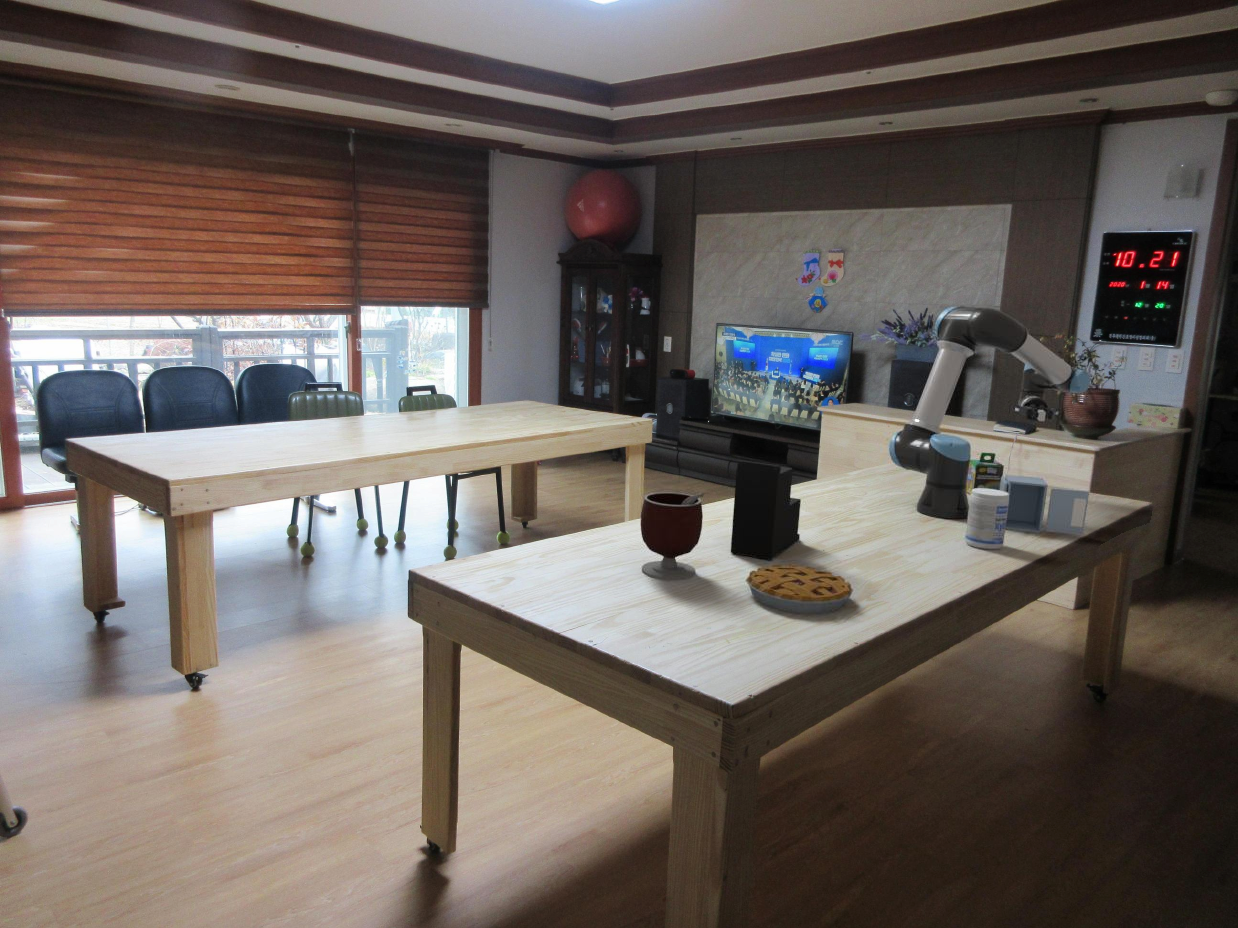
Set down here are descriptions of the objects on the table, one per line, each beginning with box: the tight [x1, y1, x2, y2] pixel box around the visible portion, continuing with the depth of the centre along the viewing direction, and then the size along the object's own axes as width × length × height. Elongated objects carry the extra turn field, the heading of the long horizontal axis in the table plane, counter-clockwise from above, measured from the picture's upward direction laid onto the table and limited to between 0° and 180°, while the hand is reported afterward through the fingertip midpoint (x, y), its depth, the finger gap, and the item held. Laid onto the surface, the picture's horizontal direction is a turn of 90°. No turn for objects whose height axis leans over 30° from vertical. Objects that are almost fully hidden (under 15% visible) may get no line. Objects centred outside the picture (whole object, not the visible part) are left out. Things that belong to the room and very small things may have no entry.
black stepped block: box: [730, 459, 802, 561], centre depth 224 cm, size 23×11×24 cm, turn 152°
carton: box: [1000, 474, 1048, 534], centre depth 257 cm, size 11×10×14 cm
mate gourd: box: [640, 491, 705, 581], centre depth 200 cm, size 16×14×20 cm
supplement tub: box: [964, 488, 1009, 550], centre depth 235 cm, size 10×10×15 cm
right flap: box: [1045, 487, 1090, 536], centre depth 249 cm, size 10×1×12 cm, turn 77°
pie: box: [745, 564, 854, 615], centre depth 188 cm, size 22×22×5 cm
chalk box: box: [966, 452, 1005, 496], centre depth 297 cm, size 9×9×15 cm
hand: (1042, 416), depth 269 cm, fingers closed
